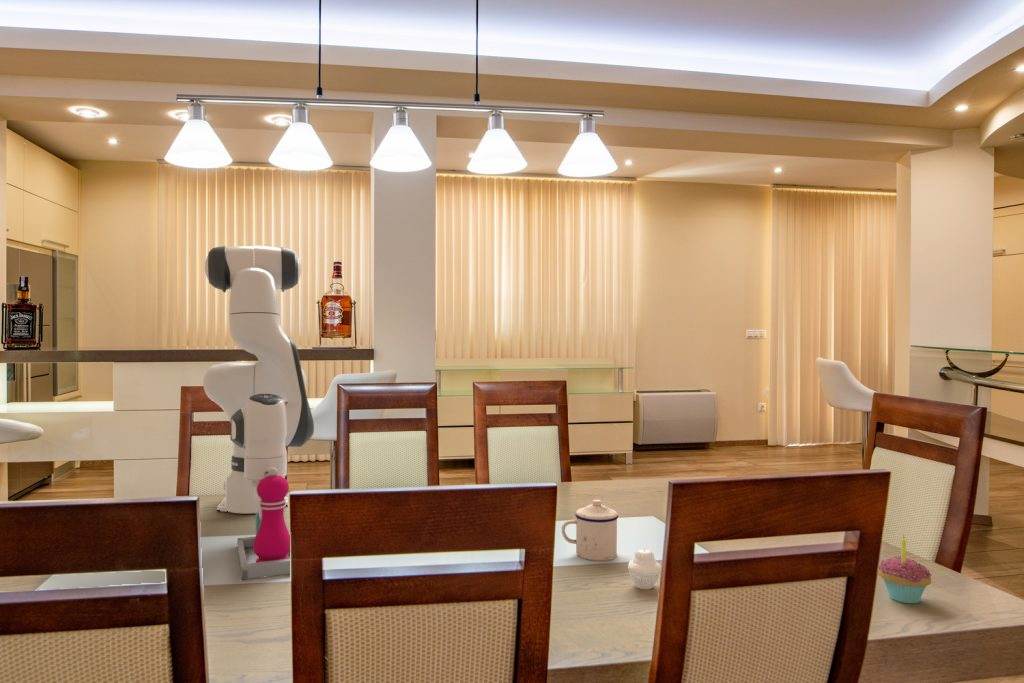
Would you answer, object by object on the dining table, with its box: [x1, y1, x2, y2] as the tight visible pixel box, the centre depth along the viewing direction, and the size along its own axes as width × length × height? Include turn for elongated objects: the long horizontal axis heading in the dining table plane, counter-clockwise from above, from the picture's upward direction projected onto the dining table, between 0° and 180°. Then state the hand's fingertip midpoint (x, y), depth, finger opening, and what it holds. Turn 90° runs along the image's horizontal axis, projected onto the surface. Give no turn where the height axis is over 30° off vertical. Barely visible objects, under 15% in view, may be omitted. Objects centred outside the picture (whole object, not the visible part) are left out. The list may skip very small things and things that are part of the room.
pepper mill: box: [252, 468, 291, 562], centre depth 135 cm, size 7×7×20 cm
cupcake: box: [877, 534, 932, 604], centre depth 123 cm, size 9×8×12 cm
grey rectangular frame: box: [236, 513, 291, 580], centre depth 141 cm, size 22×11×7 cm, turn 24°
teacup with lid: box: [561, 499, 619, 562], centre depth 146 cm, size 12×9×12 cm
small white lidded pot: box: [627, 548, 662, 590], centre depth 127 cm, size 6×6×7 cm
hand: (265, 531), depth 150 cm, fingers open, 3 cm apart
